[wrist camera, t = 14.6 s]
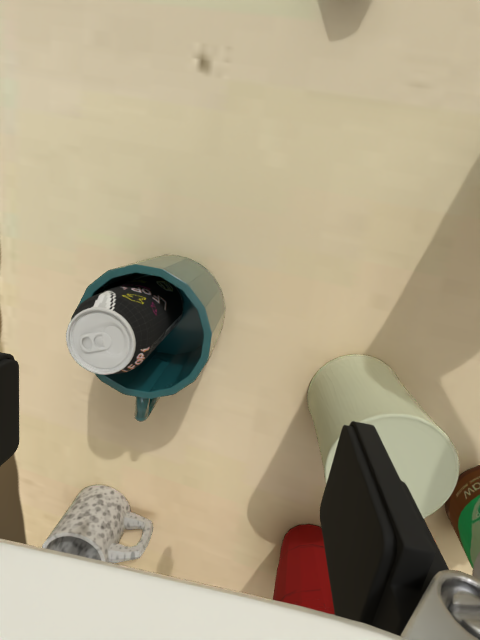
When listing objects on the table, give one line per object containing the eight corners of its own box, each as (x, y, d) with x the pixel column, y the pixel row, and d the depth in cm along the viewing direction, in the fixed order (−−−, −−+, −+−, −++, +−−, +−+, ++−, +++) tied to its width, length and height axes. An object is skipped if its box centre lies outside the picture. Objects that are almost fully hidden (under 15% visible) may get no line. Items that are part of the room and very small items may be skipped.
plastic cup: (306, 597, 43) (320, 733, 32) (241, 541, 42) (232, 662, 30) (377, 549, 41) (421, 678, 29) (312, 488, 39) (330, 598, 28)
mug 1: (126, 246, 34) (77, 254, 26) (232, 264, 34) (220, 278, 25) (116, 375, 38) (71, 420, 29) (212, 393, 37) (195, 444, 29)
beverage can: (121, 276, 34) (46, 302, 23) (180, 270, 34) (134, 294, 22) (132, 334, 36) (66, 386, 24) (189, 329, 35) (150, 381, 24)
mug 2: (76, 529, 43) (43, 582, 37) (73, 481, 42) (38, 528, 35) (159, 538, 43) (139, 593, 36) (159, 490, 41) (139, 540, 35)
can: (289, 408, 37) (298, 491, 26) (342, 336, 35) (379, 391, 23) (363, 453, 38) (405, 553, 26) (420, 385, 35) (494, 462, 24)
